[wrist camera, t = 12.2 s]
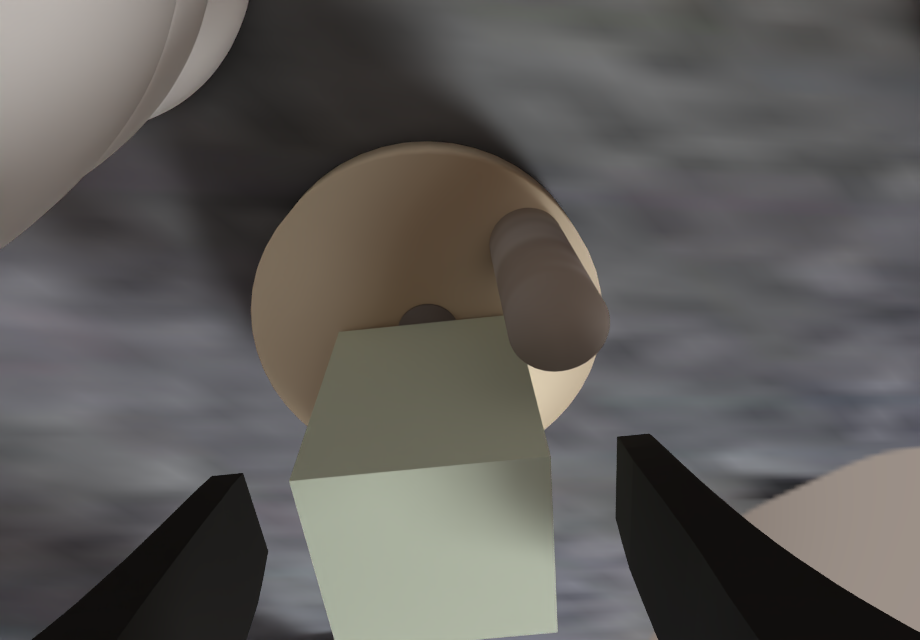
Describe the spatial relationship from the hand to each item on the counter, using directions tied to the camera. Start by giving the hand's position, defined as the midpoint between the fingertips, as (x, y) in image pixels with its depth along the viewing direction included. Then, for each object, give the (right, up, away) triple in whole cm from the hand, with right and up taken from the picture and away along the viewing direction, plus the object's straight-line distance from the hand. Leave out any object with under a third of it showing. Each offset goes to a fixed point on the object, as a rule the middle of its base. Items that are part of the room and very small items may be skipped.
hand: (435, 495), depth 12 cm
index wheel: (0, +4, +4) cm, 5 cm away
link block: (0, +2, +3) cm, 3 cm away
